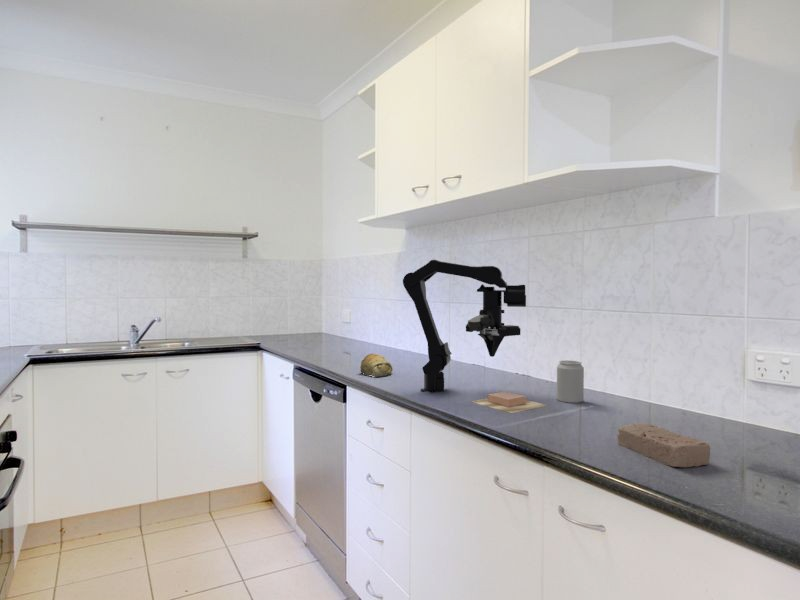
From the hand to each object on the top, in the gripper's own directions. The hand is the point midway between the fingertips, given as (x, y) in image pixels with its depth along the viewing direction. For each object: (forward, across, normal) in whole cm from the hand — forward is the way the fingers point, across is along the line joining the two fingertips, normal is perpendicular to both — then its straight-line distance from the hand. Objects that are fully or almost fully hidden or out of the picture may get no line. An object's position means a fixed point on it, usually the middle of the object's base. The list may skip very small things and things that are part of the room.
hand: (491, 356), depth 156 cm
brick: (+13, +59, -11) cm, 61 cm away
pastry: (+12, -51, -11) cm, 54 cm away
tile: (+10, +8, -6) cm, 14 cm away
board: (+12, +13, -6) cm, 19 cm away
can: (+12, +20, +12) cm, 26 cm away
